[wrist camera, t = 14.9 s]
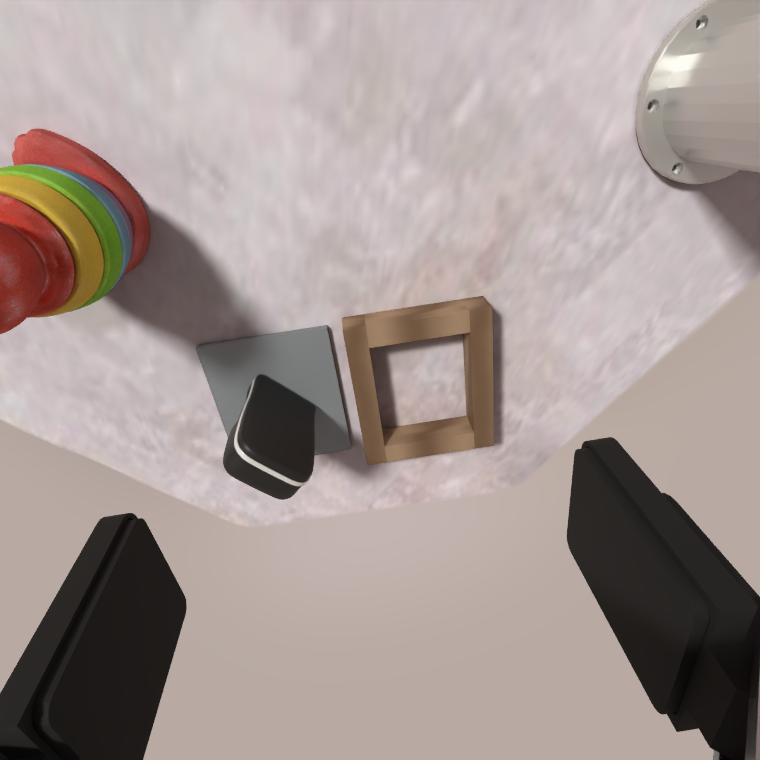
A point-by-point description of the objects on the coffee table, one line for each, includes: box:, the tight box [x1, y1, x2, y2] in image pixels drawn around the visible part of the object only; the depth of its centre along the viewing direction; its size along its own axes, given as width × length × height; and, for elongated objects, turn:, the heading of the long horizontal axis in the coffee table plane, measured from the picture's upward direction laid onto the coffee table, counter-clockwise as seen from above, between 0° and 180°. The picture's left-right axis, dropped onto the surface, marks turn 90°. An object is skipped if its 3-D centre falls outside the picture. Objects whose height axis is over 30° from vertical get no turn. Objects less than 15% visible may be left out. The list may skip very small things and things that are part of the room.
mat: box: [196, 325, 351, 455], centre depth 47 cm, size 12×14×1 cm
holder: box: [342, 296, 494, 465], centre depth 46 cm, size 13×15×3 cm
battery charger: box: [223, 374, 316, 500], centre depth 42 cm, size 7×4×11 cm, turn 51°
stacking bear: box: [0, 129, 150, 334], centre depth 30 cm, size 11×10×18 cm
